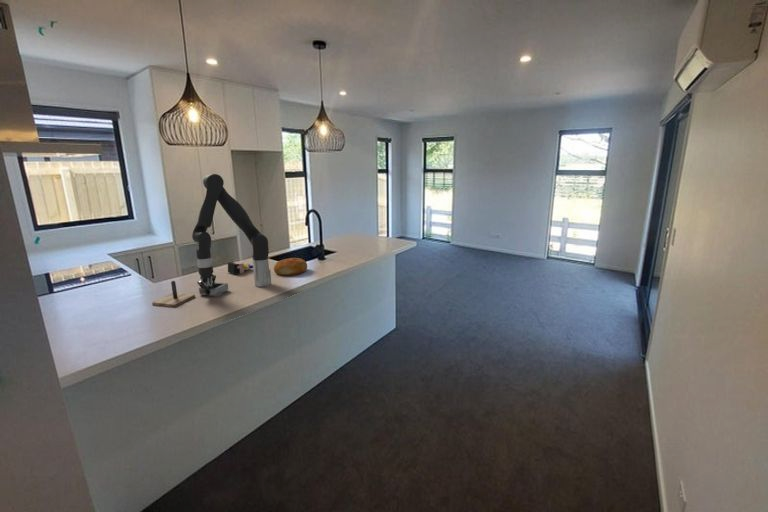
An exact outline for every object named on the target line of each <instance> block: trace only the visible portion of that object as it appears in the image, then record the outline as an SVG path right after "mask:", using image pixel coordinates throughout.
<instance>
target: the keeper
mask: <svg viewBox="0 0 768 512" xmlns="http://www.w3.org/2000/svg"><path fill="white" fill-rule="evenodd" d="M170 284H171V291H172V293H170V294H168V295H165V296H163V297H160V298H159V299H157V300H154V301H152V302H151V303H152V305H153V306H160V307H169V308H176V307H179V306H180V305H183V304H184V303H187V302H189V301H190V300H192V299H194V298H196V295H195V294H190V293H179V292H178V291H177V284H176V281H175V280H172V281H171V282H170Z"/></svg>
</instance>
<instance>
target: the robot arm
mask: <svg viewBox="0 0 768 512" xmlns="http://www.w3.org/2000/svg"><path fill="white" fill-rule="evenodd" d="M224 181H225V180H224V179H223V177H222V176H221V175H220V174H216V173H210V174H207V175H205V176H204V177H203V180H202V183H203V186H204V188H205V189H206V190H205V191H206V192H205V197H204V200H203V203H202V206H201V208H200V210H199V214H198V217H197V223H196V225H195V227H194V229H193V231H192V234H191V238H192V241H193V242H195V243H197V244H198V248H197V249H196V258H197V259H196V260H197V261H196V263H197V269H198V274H199V275H200V278H199V279H200V280H199V281H198V280H197V281H196V282H197V285H198V286H199V288H200V287H201V288H202V289H205V294H206V295H205V296H210V295H209V294H210V293H209V288H212V285H214V283H215V282H216V278H217V275H215V274H213V273H214V267H213V266H214V265H213V259H212V255H211V254H212V253H211V245H212V237H211V235H210V233H209V232H207V230H208V229H209V228H211V227H212V224H213V219H214V215H215V210H216V207H217V206H216V205H217V202H218V203H219V204H220V205H221V208H222V209H223V210H224V211H225V213H226V214H227V215H228V218H230V219H231V220H232V221H233V223H234V224H235V225H236V226H237V227H238V228H239V229H240V231H242V232H243V233H244V235H245V237H247V239H248V241H249V243H250V244H251V246H252V265H253V268H252V269H253V277H254V278H253V279H254V286H255V287H258V288H263V287H265V288H266V287H269V286H271V284H272V275H271V274H272V273H271V269H270V265H269V254H270V253H269V251H270V250H269V240H268V238H267V236H266V235H264V234H263V233H262V232H261V231H260V230H258V229H257V227H256V226H255V225H254V223H253V221H252V220H251V218H250V216H249V215H248V214H249V213H247V211H246V209H245V208H244V207H243V206H242V204H241V203H239V202H238V201H237V200H236V199H235V198H234V197H233V196H232V195H231V194H229V192H227V190H226V189H225V187H224V184H225V182H224ZM212 282H213V283H212ZM206 286H207V287H206Z"/></svg>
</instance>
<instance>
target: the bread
mask: <svg viewBox="0 0 768 512" xmlns="http://www.w3.org/2000/svg"><path fill="white" fill-rule="evenodd" d="M307 263H308V262H307V261H305V260H304V259H303V258H299V257H289V258H284V259H281V260H278V261H277V262H276V263H275V264H274V267H273V271H274V273H275V274H277V275H280V276H294V275H295V276H296V275H301V274H302V273H304V272H306V270H308V264H307Z"/></svg>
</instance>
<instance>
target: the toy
mask: <svg viewBox="0 0 768 512" xmlns="http://www.w3.org/2000/svg"><path fill="white" fill-rule="evenodd" d="M250 269H253V264H249V263H244V262H240V261H228V262H227V272H228V273H229V274H231V275H238V274H244V273H245V271H248V270H250Z"/></svg>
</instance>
